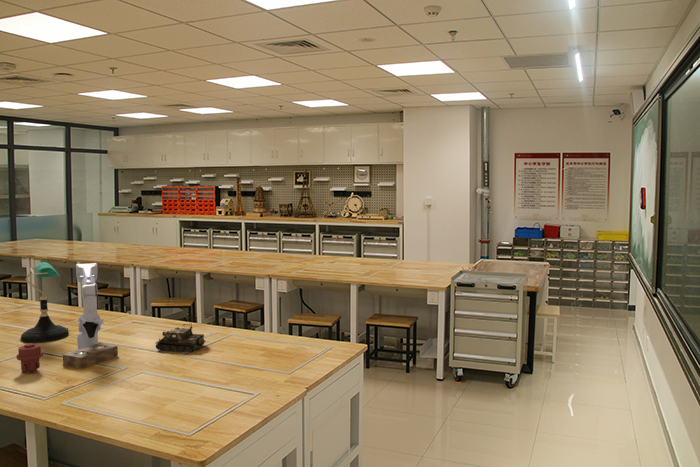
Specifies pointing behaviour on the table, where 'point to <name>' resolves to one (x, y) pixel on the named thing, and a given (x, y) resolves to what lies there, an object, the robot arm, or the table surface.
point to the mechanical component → (29, 357)
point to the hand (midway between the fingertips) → (91, 337)
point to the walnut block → (90, 355)
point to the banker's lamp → (44, 313)
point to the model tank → (180, 340)
